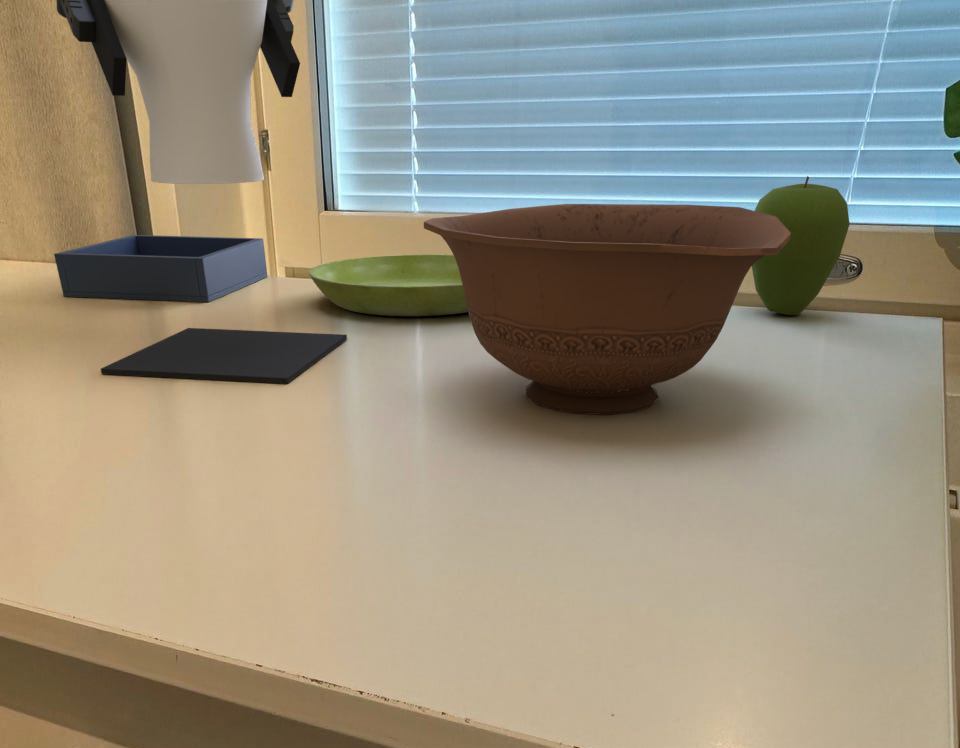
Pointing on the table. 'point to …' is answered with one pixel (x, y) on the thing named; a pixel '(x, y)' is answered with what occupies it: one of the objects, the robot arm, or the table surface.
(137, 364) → the mat
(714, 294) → the bowl
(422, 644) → the table surface
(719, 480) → the table surface
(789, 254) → the apple
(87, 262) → the bin
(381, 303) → the saucer
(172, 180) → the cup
